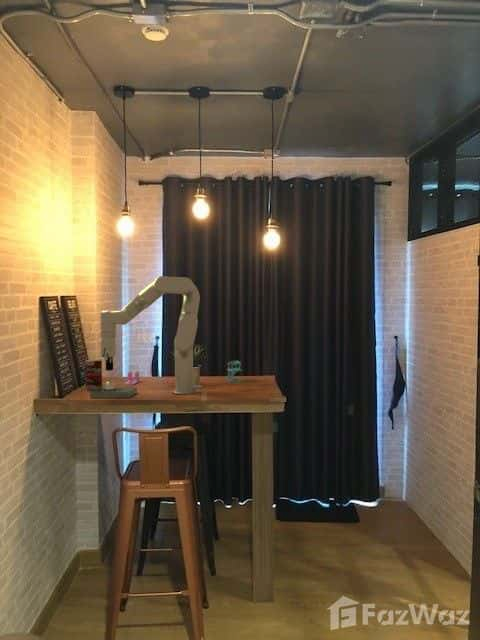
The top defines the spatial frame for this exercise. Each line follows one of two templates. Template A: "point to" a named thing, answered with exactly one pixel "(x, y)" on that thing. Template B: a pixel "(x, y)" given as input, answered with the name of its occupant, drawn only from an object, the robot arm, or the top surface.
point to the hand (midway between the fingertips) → (109, 370)
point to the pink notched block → (130, 381)
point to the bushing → (109, 385)
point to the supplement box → (93, 374)
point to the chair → (233, 371)
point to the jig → (113, 392)
